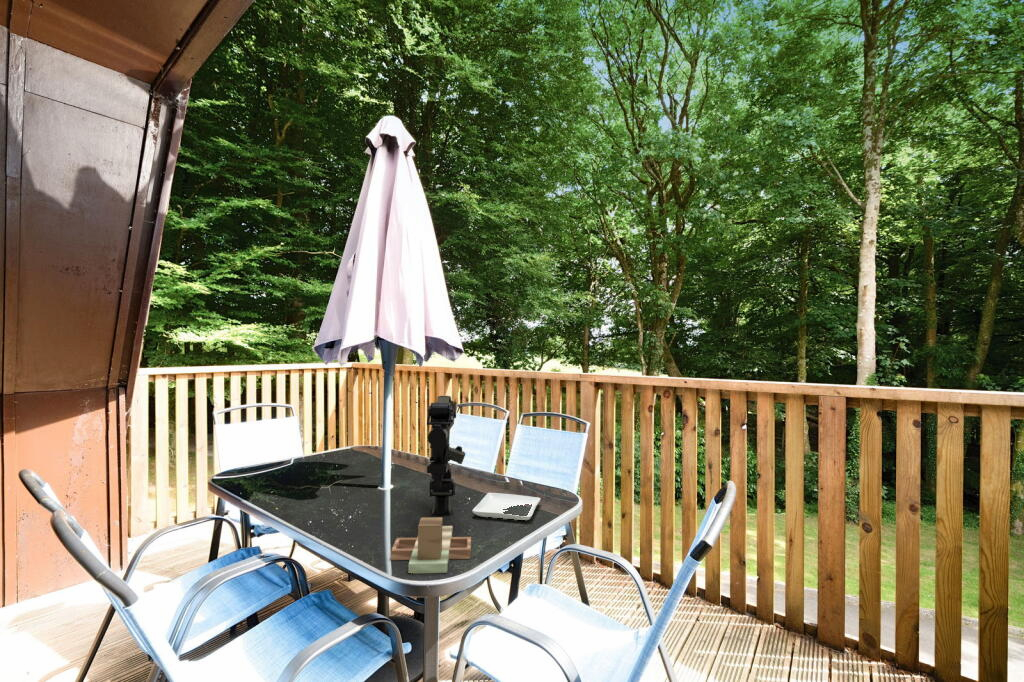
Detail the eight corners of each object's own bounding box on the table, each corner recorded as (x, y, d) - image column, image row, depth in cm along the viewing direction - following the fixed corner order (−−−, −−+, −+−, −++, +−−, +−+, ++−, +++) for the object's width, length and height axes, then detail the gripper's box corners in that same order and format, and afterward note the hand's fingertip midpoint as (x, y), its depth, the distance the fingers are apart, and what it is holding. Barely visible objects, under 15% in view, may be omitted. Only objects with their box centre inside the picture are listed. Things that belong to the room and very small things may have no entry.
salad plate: (530, 526, 156) (531, 515, 156) (471, 519, 161) (471, 509, 161) (541, 505, 176) (541, 496, 176) (487, 500, 181) (488, 492, 181)
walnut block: (420, 550, 129) (420, 517, 129) (441, 549, 129) (442, 517, 130) (417, 559, 123) (418, 525, 123) (440, 559, 123) (440, 525, 124)
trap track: (401, 534, 146) (401, 526, 146) (471, 533, 148) (471, 525, 148) (385, 574, 120) (385, 564, 120) (469, 572, 122) (469, 562, 122)
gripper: (463, 446, 144) (462, 496, 143) (464, 435, 162) (464, 480, 162) (427, 446, 143) (426, 497, 143) (433, 435, 162) (432, 480, 161)
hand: (438, 488), depth 152 cm, fingers closed
